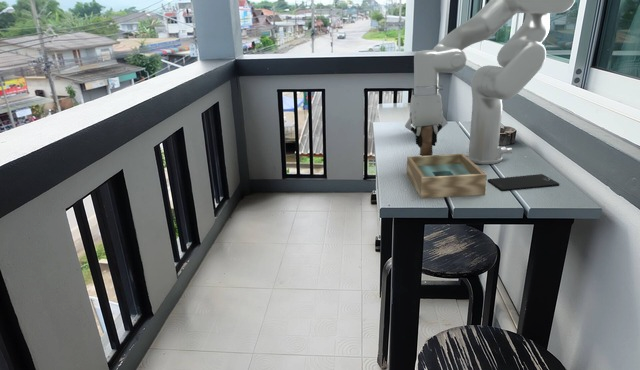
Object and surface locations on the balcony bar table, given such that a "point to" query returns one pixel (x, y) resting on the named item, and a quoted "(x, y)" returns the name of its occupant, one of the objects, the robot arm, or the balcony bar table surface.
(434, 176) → the box
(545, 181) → the cell phone
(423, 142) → the peg
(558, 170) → the balcony bar table surface
